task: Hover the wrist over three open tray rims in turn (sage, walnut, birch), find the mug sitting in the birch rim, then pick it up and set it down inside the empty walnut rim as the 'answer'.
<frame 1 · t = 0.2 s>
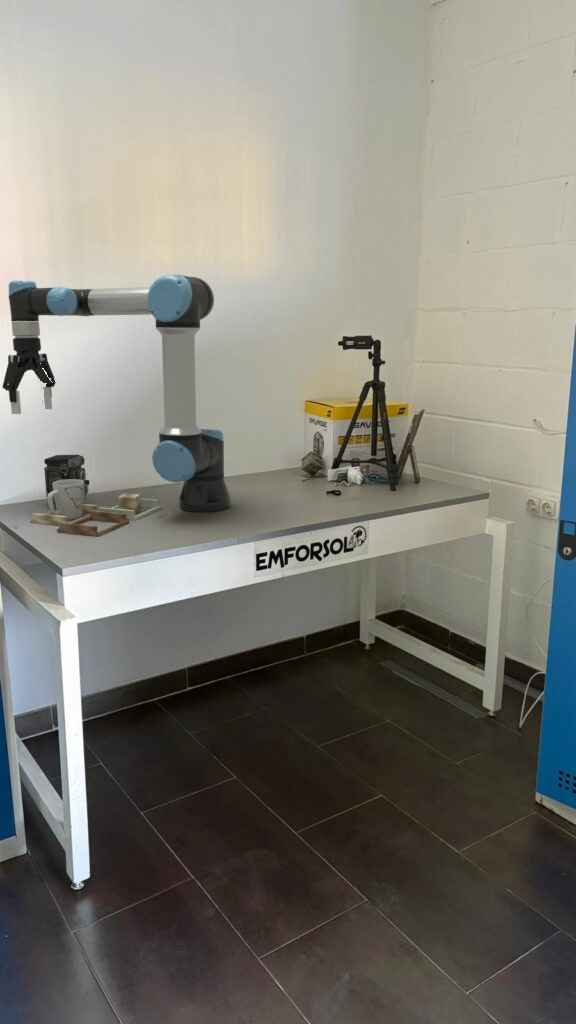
hand: (32, 411, 226), 28 cm above the workbench, fingers open, 13 cm apart
mug: (66, 519, 215), resting in rim B birch
rim B birch: (66, 518, 215), on the workbench
rim C sage: (129, 512, 221), on the workbench
camera: (70, 507, 229), on the workbench
birch cube: (130, 512, 221), resting in rim C sage
rim A walnut: (93, 527, 205), on the workbench
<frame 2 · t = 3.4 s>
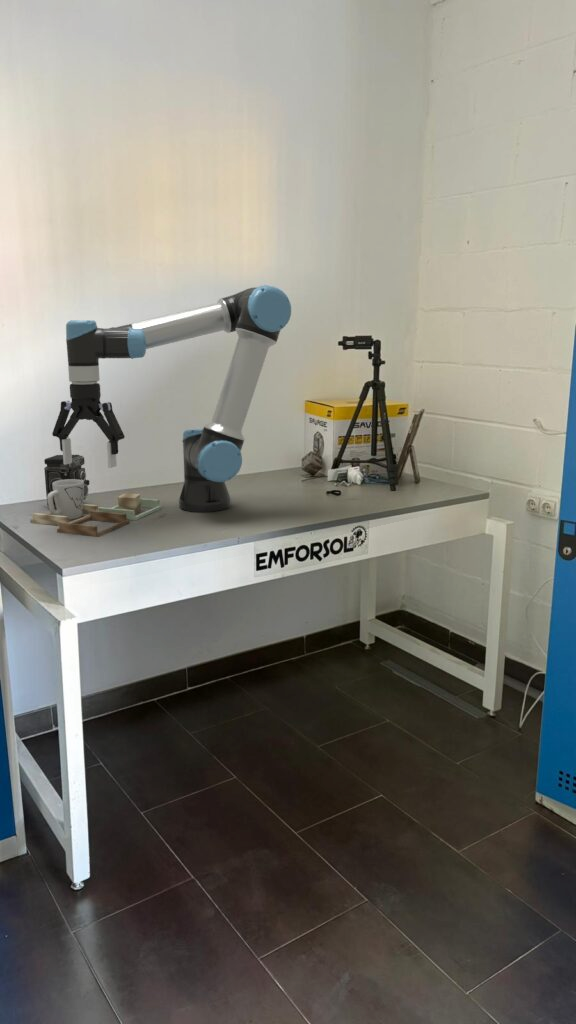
hand: (89, 465, 201), 17 cm above the workbench, fingers open, 13 cm apart
nothing on the workbench moved.
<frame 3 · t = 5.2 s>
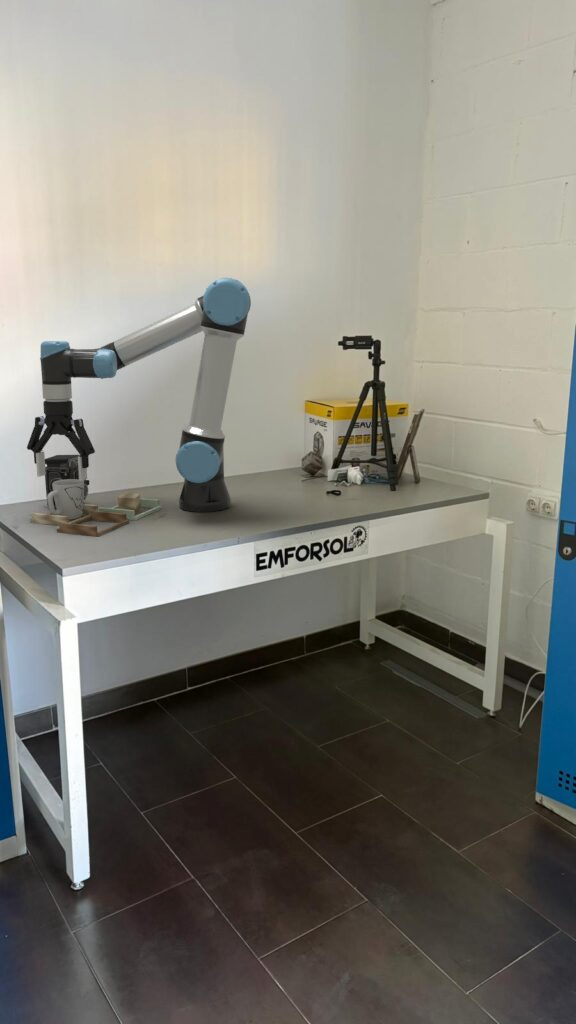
hand: (62, 477, 212), 11 cm above the workbench, fingers open, 13 cm apart
nothing on the workbench moved.
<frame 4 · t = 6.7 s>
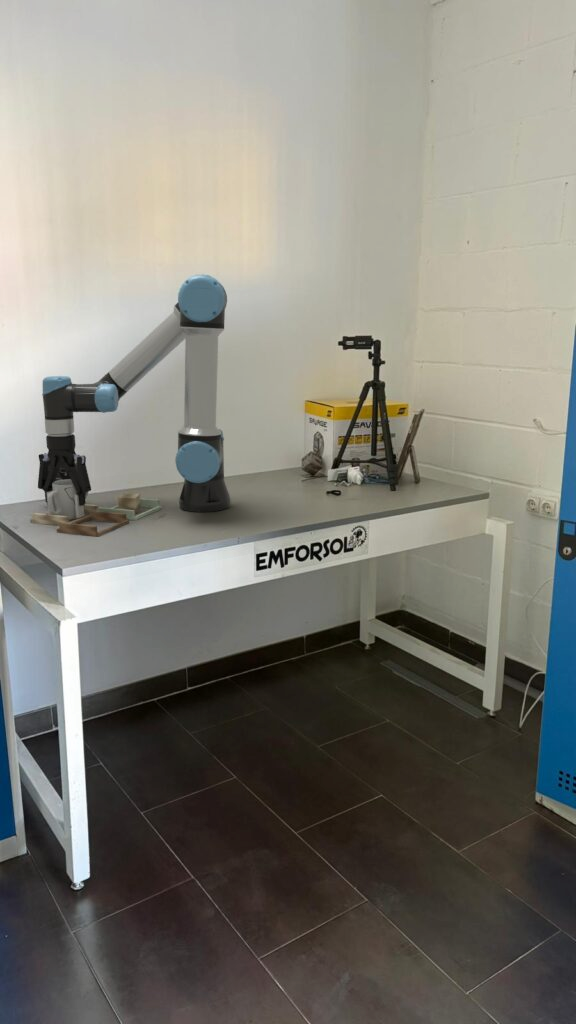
hand: (66, 515, 214), 1 cm above the workbench, fingers open, 8 cm apart
mug: (66, 518, 215), resting in rim B birch, touching gripper
everything else where it was.
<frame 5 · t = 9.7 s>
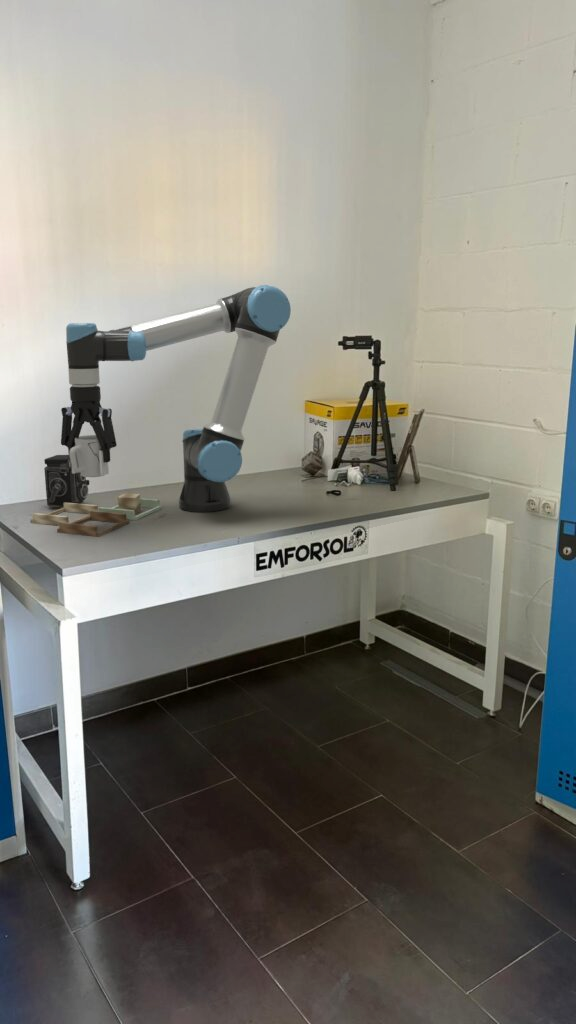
hand: (90, 473, 201), 15 cm above the workbench, fingers closed on mug, 8 cm apart
mug: (89, 476, 202), point 14 cm above the workbench, touching gripper
everything else where it was.
when the fingers open (3 cm above the workbench, at t = 12.6 s): mug drops 2 cm, resting in rim A walnut.
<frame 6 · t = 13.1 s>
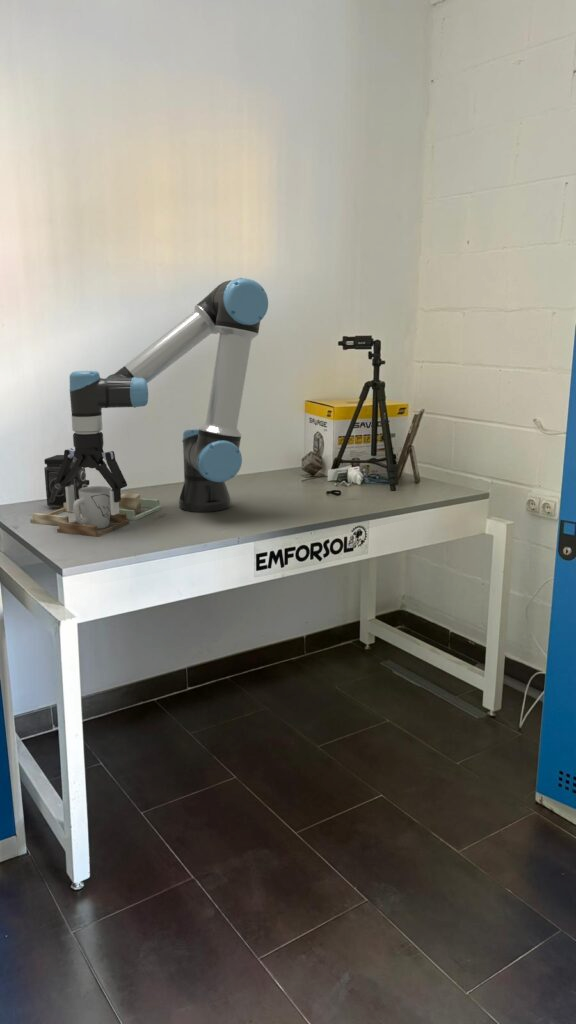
hand: (92, 512, 204), 4 cm above the workbench, fingers open, 13 cm apart
mug: (92, 527, 205), resting in rim A walnut
everything else where it was.
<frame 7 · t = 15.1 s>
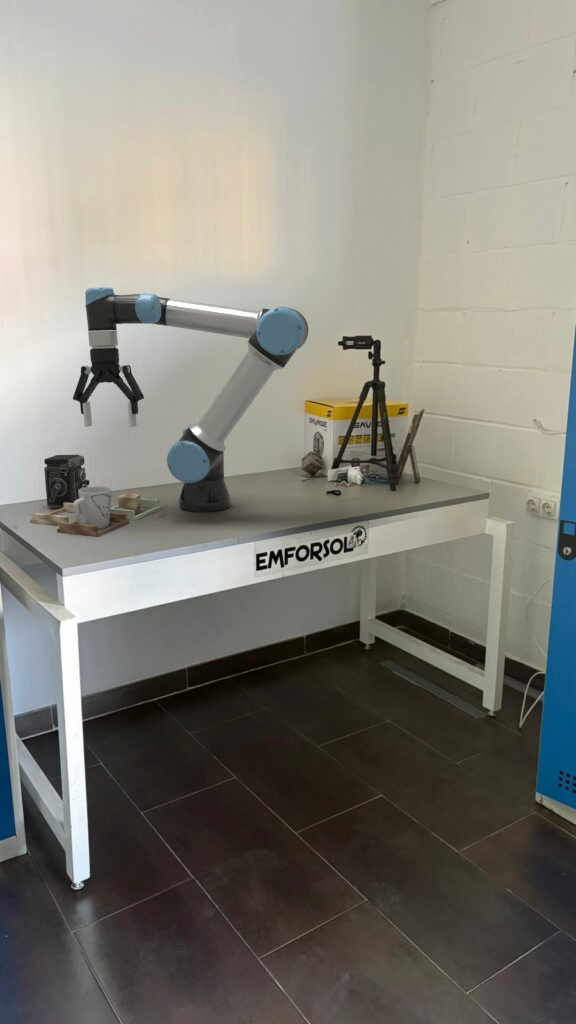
hand: (110, 426, 212), 25 cm above the workbench, fingers open, 13 cm apart
nothing on the workbench moved.
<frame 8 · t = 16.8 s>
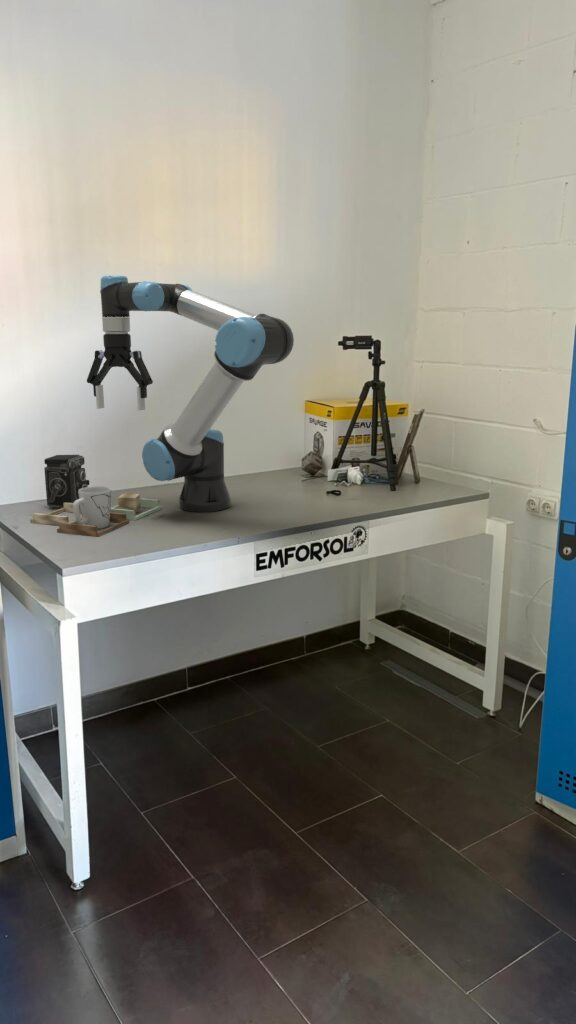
hand: (120, 409, 221), 29 cm above the workbench, fingers open, 13 cm apart
nothing on the workbench moved.
at the end: mug inside the target area on the rim A walnut (0.5 cm from its centre), point 0.0 cm above the rim A walnut's base; mug tilted 0°; the gripper is holding nothing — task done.
